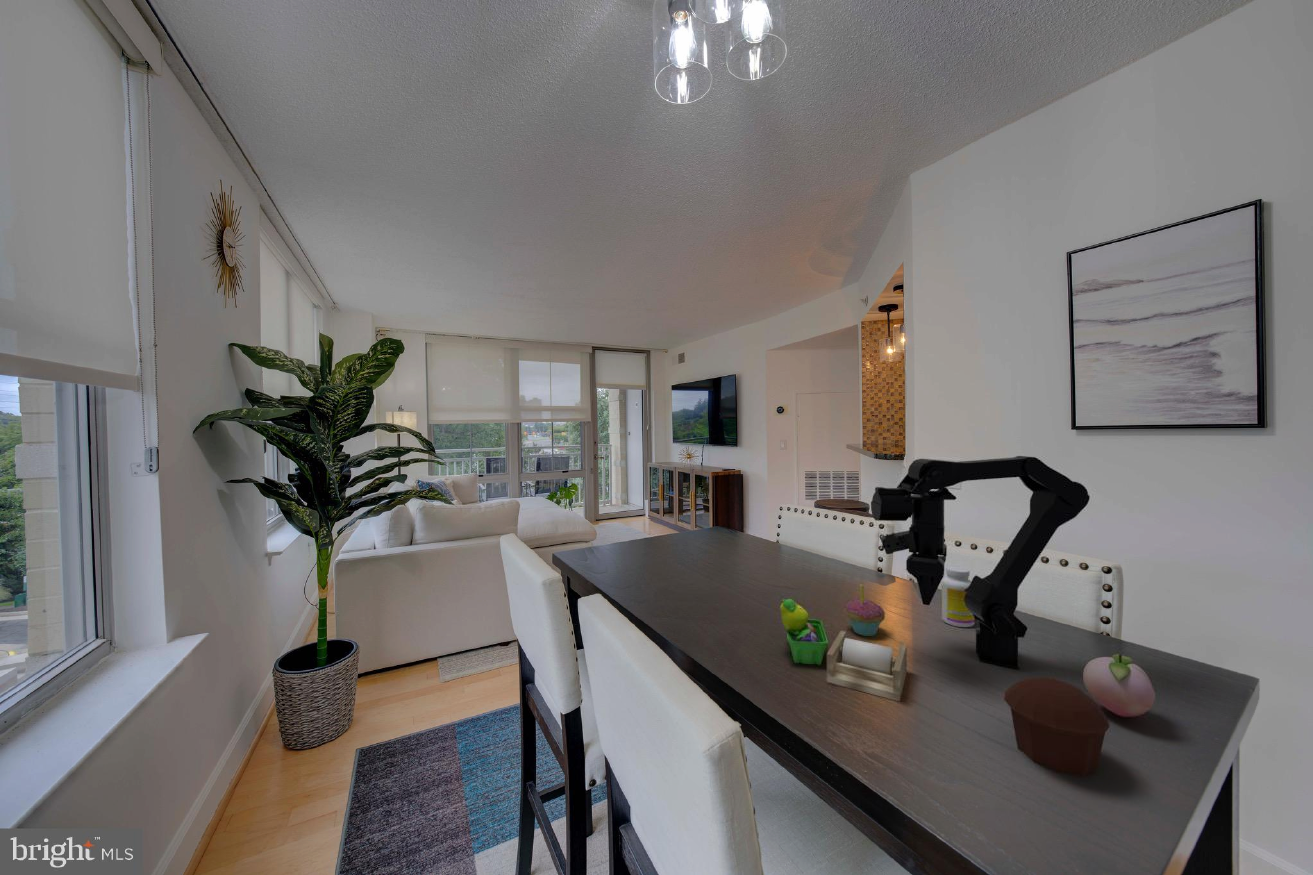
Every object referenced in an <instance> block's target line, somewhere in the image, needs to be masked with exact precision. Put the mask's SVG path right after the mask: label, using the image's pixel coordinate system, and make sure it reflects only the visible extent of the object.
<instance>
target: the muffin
mask: <svg viewBox="0 0 1313 875" xmlns="http://www.w3.org/2000/svg"><path fill="white" fill-rule="evenodd" d="M1003 697H1004V699H1003V700H1004V701H1005V702H1006V704H1007V705H1008V706H1009V707H1010V712H1011V717H1012V723H1013V728H1014V729H1013V730H1014V736H1015V741H1016V746H1017V749H1018V750H1019V751H1020V752H1022V753H1023V754H1024V755H1026V756H1027V758H1028V759H1030V760H1031V761H1032V762H1033V763H1036V764H1038V765H1041V766H1044V767H1045V768H1048V769H1050V770H1052V771H1054V772H1056V773H1059V774H1066V775H1067V774H1069V775H1072V776H1073V775H1074V776H1078V777H1085V776H1087V775H1088V774H1091V773H1095V772H1097V769H1098V766H1099V761H1100V756H1101V752H1102V748H1103V745H1104V739H1105V735H1106V732H1107V731H1108V730H1109V728H1110V723H1109V720H1108V717H1107V716H1106V715H1105V712H1104V711H1103V710H1102V708H1101V706H1099V704H1098V703H1097V702H1096V700H1094V698H1093V697H1090V696H1089V695H1088V694H1086V693H1085V692H1084V691H1083V690H1081V689H1080V688H1078V687H1076V686H1074V685H1072V684H1070V683H1069V682H1066V681H1063V680H1060V679H1056V678H1052V677H1051V678H1050V677H1046V676H1036V677H1035V676H1034V677H1029V678H1024V679H1022V680H1020V681H1017V682H1015V683H1014V684H1012V685H1011V686H1010V687H1009V688H1008V689H1007V690H1006V691H1005V692H1004V696H1003Z"/></svg>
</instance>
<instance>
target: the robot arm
mask: <svg viewBox="0 0 1313 875" xmlns="http://www.w3.org/2000/svg"><path fill="white" fill-rule="evenodd" d="M1011 478H1019V479H1020V482H1022V485H1024V486H1025V488H1027V489H1029V491H1030V492H1032V494H1031V496H1030V499H1029V514H1028V516H1027V518H1026V520H1025V521H1024V522H1023V524H1022V526H1021V527H1020V529H1019V530H1018V532H1017V533H1016V534H1015V536H1014V538H1013V539H1012V541H1011V543H1010V544H1009V546H1008V547H1007V549H1006V551H1005V552H1004V553H1003V555H1002V556H1001V558H1000V560H999V561H998V563H997V564H996V565H995V568H993V571H992V572H990V574H988V575H987V576H984V577H983V578H982V577H980V576H978V575H974V576H973V578H972V579H971V584H970V585H969V587H968V588H966V589H965V590H964V591H965V592H966V595H965V597H964V601H965V605H966V607H967V609H968V610H969V611H970V612H971V613H972V614H973V617H974V621H977V622H978V629H975V654H976V655H978V661H980V662H985V663H988V664H994V665H999V666H1003V667H1007V668H1012V669H1013V668H1014V669H1018V670H1019V669H1020V666H1021V665H1020V662H1019V638H1025V635H1026V633H1027V631H1028V626H1026V624H1024V622H1022V621H1021V620H1020V618H1018V617H1017V616H1016V615H1015V612H1016V609H1017V607H1018V598H1019V597H1018V596H1019V588H1020V586H1021V585H1022V583H1023V582H1024V580H1025V579H1026V577H1027V575H1028V574H1029V572H1030V571H1031V569H1032V568H1033V566H1035V565H1034V564H1035V563H1036V561H1038V559H1039V557H1040V556H1041V554H1042V553H1043V551H1044V549H1045V548H1046V546H1047V545H1048V543H1049V542H1050V540H1051V539H1052V538H1053V535H1054V534H1055V533H1056V531H1057V530H1058V529H1059V527H1060V526H1061V527H1062V525H1064V524H1066V523H1068V522H1069V521H1071V520H1074V519H1075V518H1076V517H1077V516H1078V515H1079V514H1080V513H1081V512H1082V511H1083V510H1084V509H1085V507H1087V506H1088V503H1089V502H1090V495H1089V492H1088V489H1087V488H1086V486H1084V484H1082V483H1081V482H1078V481H1073V480H1072V479H1071V478H1069V477H1067V476H1066V475H1064V474H1063V473H1061V472H1059V471H1057V470H1055V469H1053V468H1052V467H1050V466H1049V465H1047V464H1045V463H1044V462H1043V461H1042V460H1041V459H1039V458H1037V457H1036V456H1025V455H1016V456H1014V457H1004V458H1003V457H1002V458H1000V457H999V458H991V459H978V460H976V459H975V460H963V461H951V460H950V461H949V460H943V459H929V458H918V459H915V460H913V461H912V462H911V464H910V465H909V466H908V469H907V474H906V475H905V476H904V477H903V479H902V480H901V481H900V482H899V484H898V485H897V486H896V487H883V486H876V487H875V488H874V493H873V495H872V499H871V501H870V510H871V515H872V517H873V519H874V520H875V521H881V522H885V521H886V522H887V521H888V522H889V521H891V522H892V521H893V522H898V521H899V522H906V521H907V520H908V518H909V519H910V518H911V524H910V526H909V528H908V530H903V531H899V532H892V533H891V534H888V533H887V534H885V535H883V536H882V537H881V538H880V541H881V547H882V549H884V551H885V554H886V555H890V554H891V555H893V553H896V552H901V551H902V552H903V551H905V550H908V552H909V553H911V554H909V556H907V558H906V560H905V561H906V562H905V563H906V565H905V566H906V568H905V570H906V571H907V572H908V574H909V575H911V576H912V577H914V578H915V580H916V582H917V585H918V590H919V594H920V598H921V602H922V605H924V606H930V604H931V602H932V601H933V599H934V596H935V594H936V592H937V590H938V588H939V586H940V584H941V583H942V580H943V578H944V576H945V564H946V559H947V555H948V554H947V552H948V551H947V550H948V546H947V544H946V543H945V531H946V530H945V528H946V527H945V526H946V525H945V501H955V500H956V499H957V496H956V495H954V494H953V493H952V492H951V491H950V490H949V488H948V487H952V486H955V485H958V484H960V483H964V482H967V481H968V482H969V481H981V480H982V481H983V480H984V481H985V480H995V479H1011Z"/></svg>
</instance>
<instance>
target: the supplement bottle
mask: <svg viewBox="0 0 1313 875" xmlns="http://www.w3.org/2000/svg"><path fill="white" fill-rule="evenodd" d="M945 568H946V569H945V574H946V575H947V576H946V577H943V578H942V580H941V620H942V621H943V622H944V623H946V624H948V625H950V626H953V627H959V628H970V627H973V626H974V625H975V619H974V617H973V614H972V613H971V612H970V611H969V610H968V609H967V607H966V605H965V601H964V597H965V595H966V592H965V591H964V590H965V589H966V588H968V587H969V585H970V584H971V582H972V580H970V579H969V577H970V570H969V569H968V568H966V567H960V566H953V565H952V566H947V567H945Z"/></svg>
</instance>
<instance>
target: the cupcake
mask: <svg viewBox="0 0 1313 875" xmlns="http://www.w3.org/2000/svg"><path fill="white" fill-rule="evenodd" d="M859 588H860V598H858V599H854V600H853V599H852V600H851V601H849V602H847V603H846V604H845V606H844V613H845V616H846V617H847V618H848V620H850V624H851V626H852V630H853V632H854V633H855V634H858V635H860V636H864V637H873V636H876V634H877V633H878V629H879V626H880V624H881V623H882V622H883V621H884V620H885V619H886V616H885V613H886V612H885V610H884V609H883V608H882V607H881V606H880V605H879V604H878V603H875V602H874V601H872V600H870V599H866V598H865V593H864V592H865V589H864V584H863V581H861V582H860V587H859Z"/></svg>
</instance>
